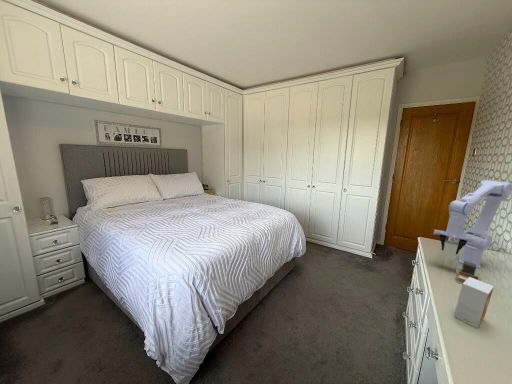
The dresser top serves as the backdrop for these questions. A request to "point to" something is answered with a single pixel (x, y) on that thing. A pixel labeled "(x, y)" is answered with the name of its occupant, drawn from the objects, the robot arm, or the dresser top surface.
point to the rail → (466, 272)
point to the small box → (473, 301)
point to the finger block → (450, 249)
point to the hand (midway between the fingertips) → (449, 251)
